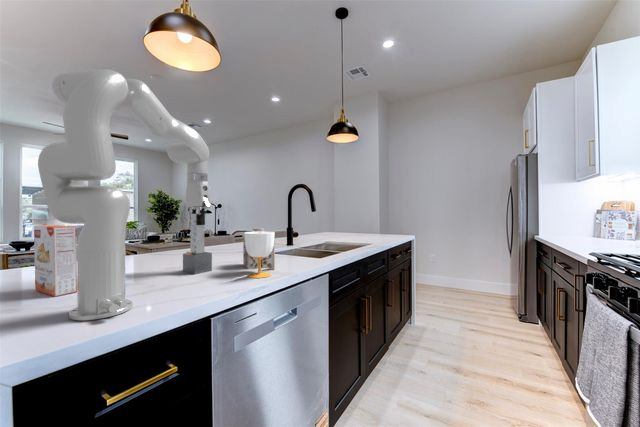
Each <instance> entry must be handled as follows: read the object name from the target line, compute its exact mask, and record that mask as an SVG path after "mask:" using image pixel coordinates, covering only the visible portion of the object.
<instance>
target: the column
mask: <svg viewBox="0 0 640 427" xmlns="http://www.w3.org/2000/svg"><path fill="white" fill-rule="evenodd" d="M197 215H198V213H197V214H191V220H190V219H189V224H190V223H191V225H190V226H189V229H190V233H189V235H190V239H189V242H190V245H189V248H190V252H192V254H193V255H198V254H204V252H205V225H197Z"/></svg>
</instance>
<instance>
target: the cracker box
mask: <svg viewBox="0 0 640 427" xmlns="http://www.w3.org/2000/svg"><path fill="white" fill-rule="evenodd" d="M33 236H34V238H33V239H34V287H35V291H37V292H40V293H43V294H45V295H48V296H51V297H54V298H55V297H61V296H65V295H69V294H74V293H77V242H78V238H77V226H76V225H63V224H62V225H60V224H40V225H34V226H33Z"/></svg>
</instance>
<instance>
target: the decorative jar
mask: <svg viewBox="0 0 640 427" xmlns="http://www.w3.org/2000/svg"><path fill="white" fill-rule="evenodd" d="M257 231H265V229H264V227H253V230H252V232H257ZM275 242H276V241H275V239H274V246H273V249H272V252H271V253H270V255H269V256H267V257H265V258H263V259H262V260H261V272H263V271H274V270H275V264H276V263H275V262H276V258H275V257H276V254H275V252H276V251H275V247H276V246H275V244H276V243H275ZM242 244H243V251H242V252H243V253H242V256H243V260H242V261H243V265H244V266H245V267H246V268H247V269H248V270H252V269H253V270H254V269H258V259H255V258H253V257H251V256H250V255H249V254H248V252H247V251H246V247H245V238H244V237H243V243H242ZM263 268H265V269H263Z"/></svg>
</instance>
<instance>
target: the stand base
mask: <svg viewBox="0 0 640 427" xmlns="http://www.w3.org/2000/svg"><path fill="white" fill-rule="evenodd" d="M209 272H213V253H212V252H207V251H204V254H198V255H193V254H192V252H191V251H186V252H184V253H182V273H185V274H190V275H200V274H204V273H209Z"/></svg>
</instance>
